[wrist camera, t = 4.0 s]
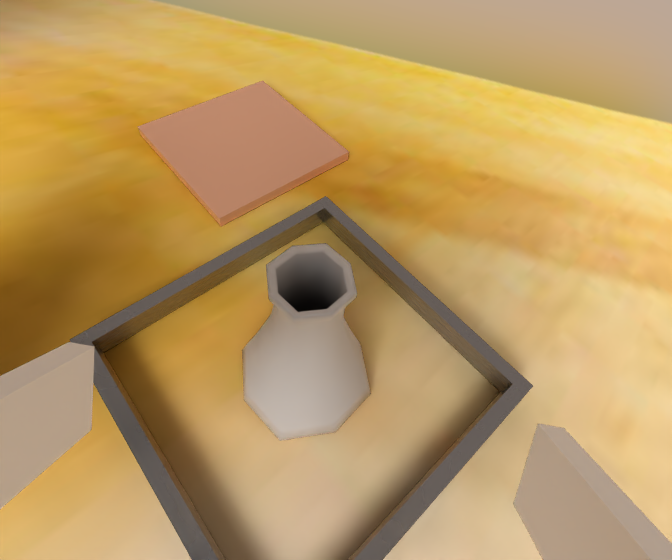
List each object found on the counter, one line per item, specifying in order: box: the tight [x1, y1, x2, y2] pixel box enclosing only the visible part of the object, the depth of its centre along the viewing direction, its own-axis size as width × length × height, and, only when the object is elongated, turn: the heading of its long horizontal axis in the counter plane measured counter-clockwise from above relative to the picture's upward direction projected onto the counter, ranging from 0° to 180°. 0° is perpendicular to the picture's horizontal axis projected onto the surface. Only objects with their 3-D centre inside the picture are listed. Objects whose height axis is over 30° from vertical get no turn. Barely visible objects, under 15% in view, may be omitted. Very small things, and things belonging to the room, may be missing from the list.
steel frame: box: [70, 196, 533, 560], centre depth 21 cm, size 18×18×2 cm
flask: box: [242, 243, 371, 441], centre depth 18 cm, size 7×7×10 cm
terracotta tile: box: [138, 81, 349, 226], centre depth 31 cm, size 12×12×1 cm
